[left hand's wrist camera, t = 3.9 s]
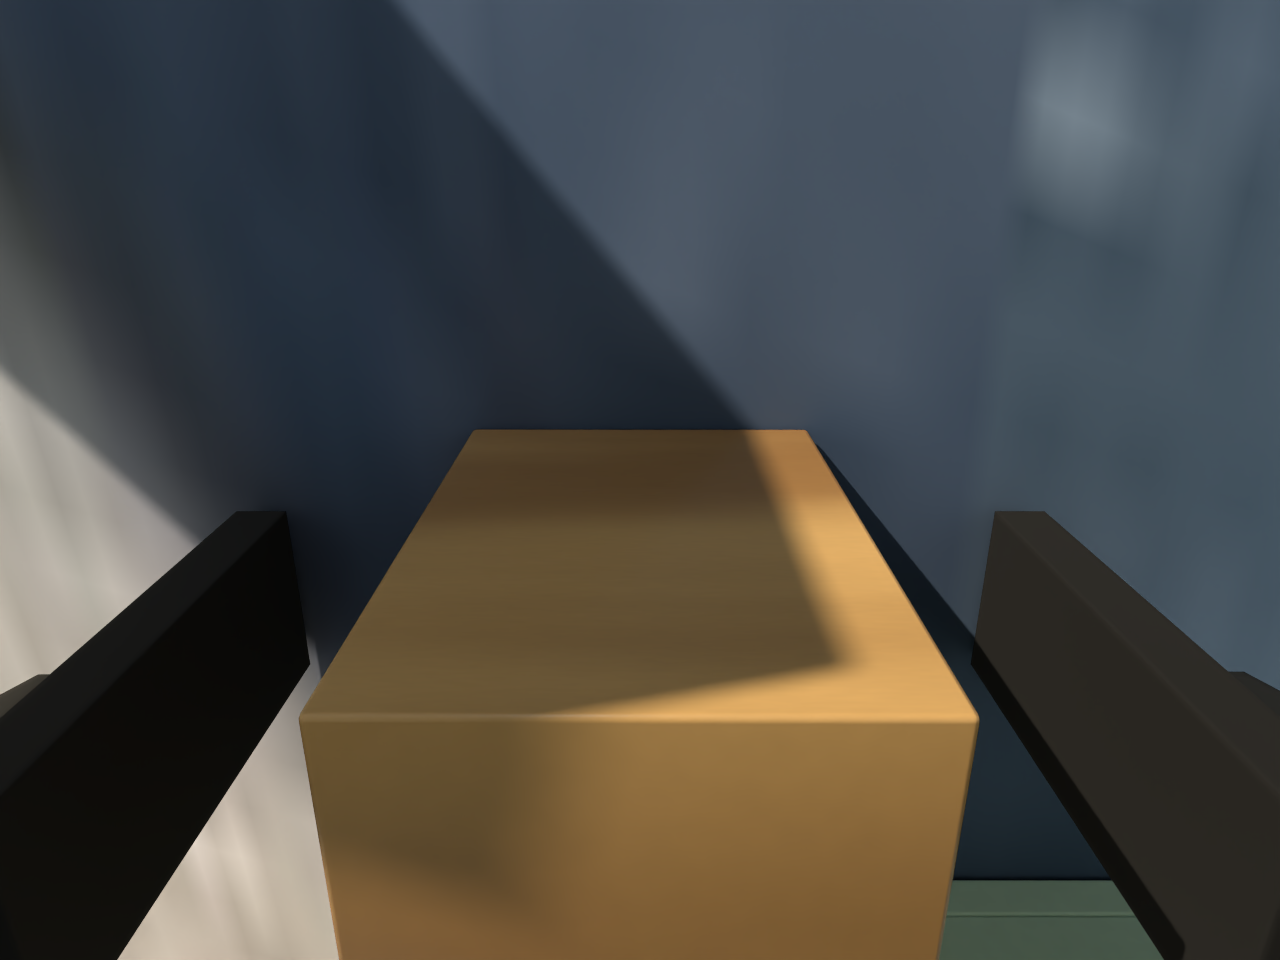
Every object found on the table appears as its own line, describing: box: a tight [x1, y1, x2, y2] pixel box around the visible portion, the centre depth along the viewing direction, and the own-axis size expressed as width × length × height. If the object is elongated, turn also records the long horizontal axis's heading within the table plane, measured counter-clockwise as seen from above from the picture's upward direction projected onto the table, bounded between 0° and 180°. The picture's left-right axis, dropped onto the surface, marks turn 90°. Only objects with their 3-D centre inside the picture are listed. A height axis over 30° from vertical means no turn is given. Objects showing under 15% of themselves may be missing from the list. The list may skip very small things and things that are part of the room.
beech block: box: [299, 430, 980, 960], centre depth 10 cm, size 5×5×7 cm
